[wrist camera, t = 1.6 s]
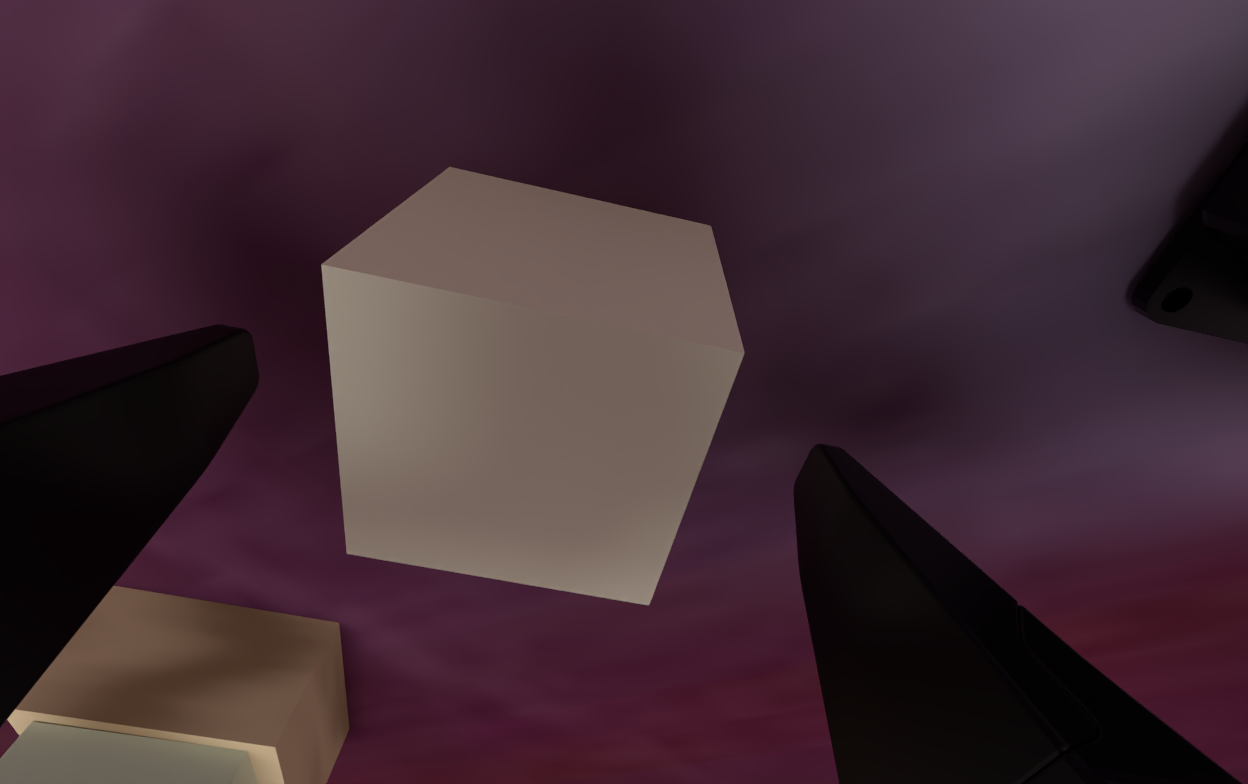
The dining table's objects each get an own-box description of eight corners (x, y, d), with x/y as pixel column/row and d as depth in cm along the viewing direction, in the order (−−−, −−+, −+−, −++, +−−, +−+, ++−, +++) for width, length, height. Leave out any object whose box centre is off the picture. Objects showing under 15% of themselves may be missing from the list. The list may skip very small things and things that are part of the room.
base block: (342, 616, 19) (275, 747, 15) (351, 722, 23) (299, 845, 19) (117, 579, 18) (-3, 706, 15) (166, 694, 22) (80, 815, 19)
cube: (710, 224, 11) (744, 353, 7) (650, 426, 14) (649, 605, 10) (450, 165, 11) (321, 264, 7) (442, 385, 13) (346, 553, 9)
